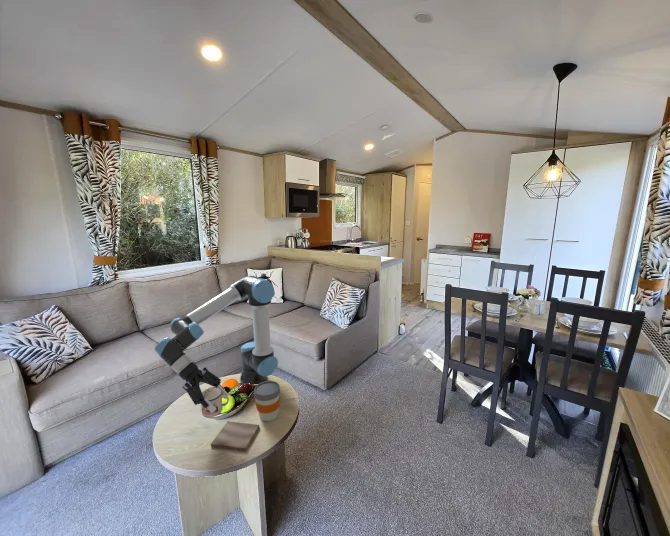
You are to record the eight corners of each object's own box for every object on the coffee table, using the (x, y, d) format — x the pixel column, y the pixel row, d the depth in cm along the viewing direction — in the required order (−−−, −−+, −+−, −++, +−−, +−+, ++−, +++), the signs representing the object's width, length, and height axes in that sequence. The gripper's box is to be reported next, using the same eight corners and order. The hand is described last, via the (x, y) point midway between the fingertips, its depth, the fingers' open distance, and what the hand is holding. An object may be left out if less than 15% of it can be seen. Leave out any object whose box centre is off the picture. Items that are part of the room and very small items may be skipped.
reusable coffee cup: (250, 420, 144) (248, 393, 141) (264, 404, 156) (262, 378, 153) (273, 426, 140) (271, 398, 137) (286, 409, 152) (284, 383, 149)
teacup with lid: (198, 419, 128) (195, 395, 126) (204, 405, 137) (202, 382, 134) (227, 416, 130) (225, 393, 127) (231, 403, 138) (229, 380, 136)
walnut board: (227, 423, 142) (227, 421, 142) (259, 427, 139) (259, 424, 139) (211, 446, 128) (210, 443, 128) (245, 451, 126) (245, 448, 125)
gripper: (196, 360, 142) (229, 393, 143) (162, 386, 122) (200, 425, 122) (205, 350, 140) (238, 384, 140) (171, 376, 120) (210, 416, 120)
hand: (220, 403), depth 131 cm, fingers closed on teacup with lid, 9 cm apart
